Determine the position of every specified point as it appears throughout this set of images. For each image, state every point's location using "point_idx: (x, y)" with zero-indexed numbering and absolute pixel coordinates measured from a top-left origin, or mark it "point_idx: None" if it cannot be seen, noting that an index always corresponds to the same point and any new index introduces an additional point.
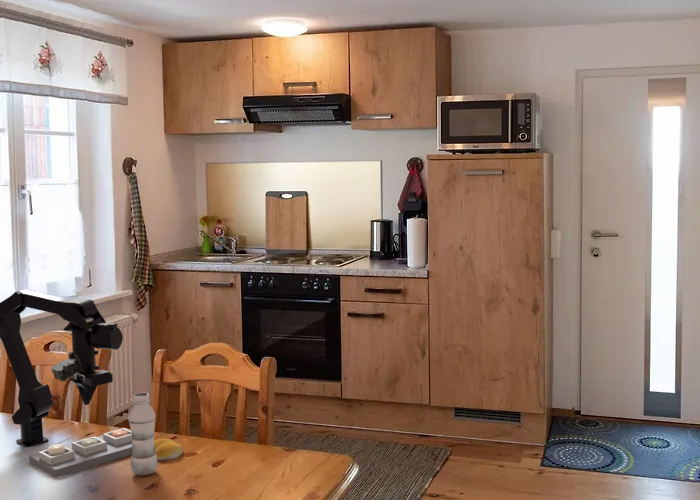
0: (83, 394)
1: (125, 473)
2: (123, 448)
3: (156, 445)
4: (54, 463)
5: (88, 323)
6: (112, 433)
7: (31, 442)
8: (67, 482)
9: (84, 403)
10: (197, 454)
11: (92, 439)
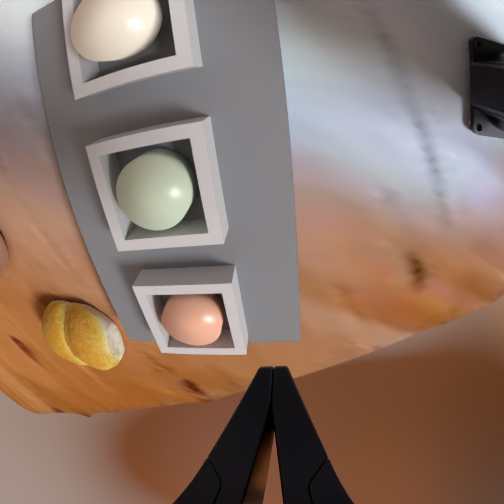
0: (234, 455)
1: (2, 206)
2: (104, 274)
3: (68, 333)
4: None
5: None
6: (200, 307)
7: (480, 60)
8: (7, 49)
9: (272, 374)
10: None
11: (171, 218)
